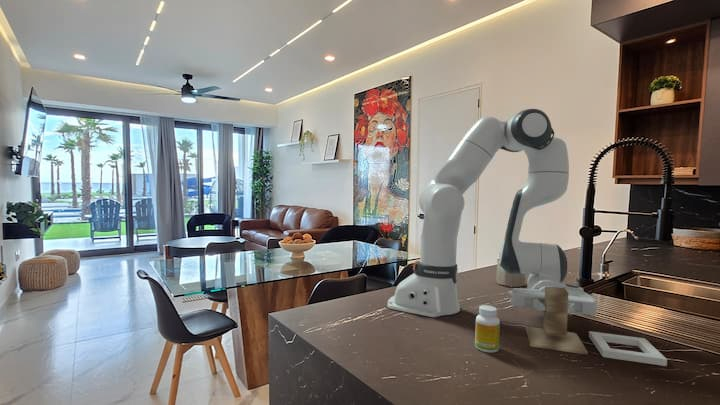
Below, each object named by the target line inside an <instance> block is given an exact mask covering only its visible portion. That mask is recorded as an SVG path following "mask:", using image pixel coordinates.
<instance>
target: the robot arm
mask: <svg viewBox="0 0 720 405" xmlns="http://www.w3.org/2000/svg"><path fill="white" fill-rule="evenodd" d="M551 123H552V122H551V121H550V118H549V116H548V115H547V113H545V112H544V111H543V110H541V109H538V108H528V109H527V108H526V109H523V110H521V111H519V112H518V113H516V114H515V115H512V116H511V117H509V118H508V119H506V120H505V121H502V120H500V119H498V118H496V117H493V116H488V115H487V116H486V115H485V116H483V117H480V118H479V119H478V120H477V121H476V122H475V123H474V124H473V125H472V126H471V127H470V128H469V129H468V130H467V132H466V133H465V134H464V135H463V137H462V138H461V139H460V141H459V143H458V144H457V145H456V147H455V148H454V149H453V151H452V152H451V154H449V157H448V158H447V159H446V160H445V161H444V163H443V164H442V165H441V167H440V168H439V169H438V171H437V172H435V173H434V175H433V176H432V178H431V179H430V180H429V181H428V182H427V184H426V186H424V188H423V189H422V191H421V192H420V194H419V197H418V205H419V209H421V211H422V212H423V213H424V214H423V224H422V231H421V236H420V248H419V249H420V251H419V252H420V254H419V255H420V256H419V260H418V259H417V260H416V261H414V263H413V267H412V269H413V270H412V271H413V273H412V274H410V275H409V276H407V277H406V278H405V279H403V280H402V281H400V282H399V283H398V284H397V287H396V289H395V291H394V292H395V293H394V295H393V296H392V295H391V297H389V299H388V300H387V308H389V309H391V310H395V311H400V312H405V313H410V314H415V315H421V316H425V317H430V318H438V317H441V316H450V315H454V314H457V313H459V312H460V311H461V307H460V304H459V299H458V292H457V291H458V290H457V282H458V273H459V272H458V270H459V268H458V264H457V250H458V249H457V246H458V244H457V242H458V235H459V229H460V224H461V220H462V214H463V210H464V208H465V198H464V196H463V195H464V194H465V193H466V192H467V190H468V189H469V188H470V187H471V186H472V185H473V184H474V183H476V182H477V181H478V179H479V178H480V177H481V175H482V174H483V172H484V171H485V169H486V168H487V166H488V165H489V164H490V162H491V161H492V160H493V159H494V156H496V153H497V152H498V151H499V150H504V151H506V152H511V153H520V152H522V151H524V154H525V155H526V157H527V160H528V169H527V170H528V173H527V180H526V182H525V184H524V186H523V187H522V188H521V189H518V190H517V192H516V194H515V196H514V198H513V202H512V205H511V209H510V213H509V218H508V221H507V222H508V223H507V227H506V231H505V235H504V239H503V243H502V245H501V247H500V249H499V253H498V259H499V262H500V266H501V267H502V268H503V269H504V270H505V271H506V272H508V273H509V274H521V273H524V274H526V275H529V276H528V277H527V279H526V288H524V287H520V288H512V290H508V295H509V297H510V305H511V306H513V307H516V308H518V307H519V308H525V309H534V310H539V312H543V313H544V312H546V304H545V303H544V300H545V286H547V287H558V288H565V289H566V290H567V292H568V315H569V316H573V315H574V314H577V315H584V316H585V315H586V316H596V315H597V310H598V303H597V300H596V299H595V298H594V297H593V296H592V295H591V294H589V293H587V292H585V291H584V288H583V287H582V286H576V285H572V284H569V283H568V284H567V283H564V281H565V279H566V277H567V273H568V259H567V255H566V252H565V251H564V249H562V247H561V246H560V245H558V244H556V243H547V242H546V243H545V242H539V243H538V242H527V241H525V242H524V241H521V240H520V235H521V230H522V226H523V222H524V221H523V220H524V218H525V216H526V214H527V212H529V211H530V210H532V209H535V208H537V207H541V206H544V205H548V204H549V203H552V202H553V203H554V202H556V201H558V200H559V199H560V198H562V197H563V196H564V195H565V193H566V192H567V190H568V187H569V186H568V185H569V176H570V175H569V174H570V162H569V160H570V159H569V153H568V147H567V144H566V142H565V141H564V140H563V139H561V138H560V137H556V136H555V131H554V128H553V127H552V124H551ZM568 315H567V316H568Z"/></svg>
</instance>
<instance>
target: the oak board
mask: <svg viewBox="0 0 720 405" xmlns="http://www.w3.org/2000/svg"><path fill="white" fill-rule="evenodd" d="M525 331H526V334H527V338H528V341H529V346H530V347H533V348H540V349H547V350H553V351H554V350H555V351H561V352H565V353H566V352H568V353H574V354H580V355H588V353H589V352H588V350H587V349H586V347H585V346H584V343H583V342H582V341H581V339H580V337H579V336H578V334H577V333H576V332H570V331H567V337H559V336H551V335H546V334H545V331H544V329H543V327H542V328H541V327H534V326H525Z"/></svg>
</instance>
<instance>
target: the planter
mask: <svg viewBox="0 0 720 405" xmlns="http://www.w3.org/2000/svg"><path fill="white" fill-rule="evenodd" d="M496 262H497V263H496V266H497V267H496V277H495V278H496V281H495V282H496V283H497V284H498V285H500V284H501V285H500V286H502V285H504V286H503V287H506V286H512V287H511V288H513V287H520V288H522V287H521V286H524V287H525V286H527V274H524V273H521V274H509V273H508V272H506V271H505V270H504V269H503V268H502V267H501V266H500V262H499V258H498V259H497V260H496Z"/></svg>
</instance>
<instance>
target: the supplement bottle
mask: <svg viewBox="0 0 720 405" xmlns="http://www.w3.org/2000/svg"><path fill="white" fill-rule="evenodd" d="M478 307H479V310H478V312H479V314H478V315H477V316H476V318H475V332H474V333H475V336H474V346H475V348H476V349H477V350H479V351H481V352H483V353H488V354H489V353H492V354H493V353H496V352H498V351H499V350H500V332H501V331H500V330H501V321H500V318H499V317H498V316H497V315H498V309H497V307H495V306H493V305H489V304H487V305H486V304H485V305H483V304H482V305H480V306H478Z"/></svg>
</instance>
